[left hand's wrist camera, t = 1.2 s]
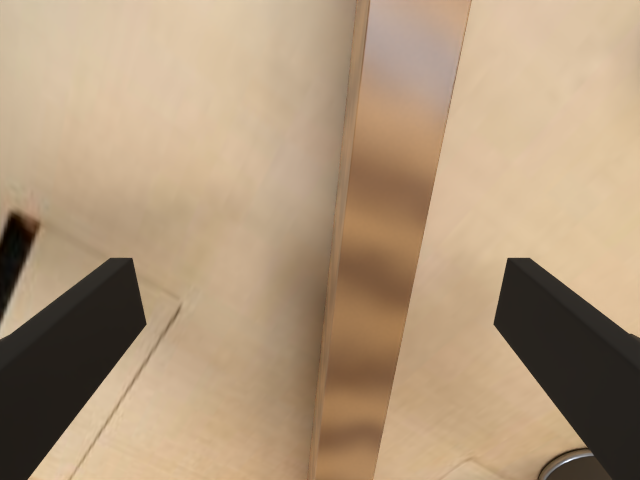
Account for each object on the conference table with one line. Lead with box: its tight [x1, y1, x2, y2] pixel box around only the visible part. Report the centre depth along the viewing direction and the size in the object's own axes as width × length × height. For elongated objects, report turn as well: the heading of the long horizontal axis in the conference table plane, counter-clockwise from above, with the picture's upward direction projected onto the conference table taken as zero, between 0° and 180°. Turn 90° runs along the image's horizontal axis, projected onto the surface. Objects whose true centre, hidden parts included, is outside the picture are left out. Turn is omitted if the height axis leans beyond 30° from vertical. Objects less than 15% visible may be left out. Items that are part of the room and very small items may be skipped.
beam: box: [307, 0, 472, 480], centre depth 35 cm, size 82×5×8 cm, turn 175°
